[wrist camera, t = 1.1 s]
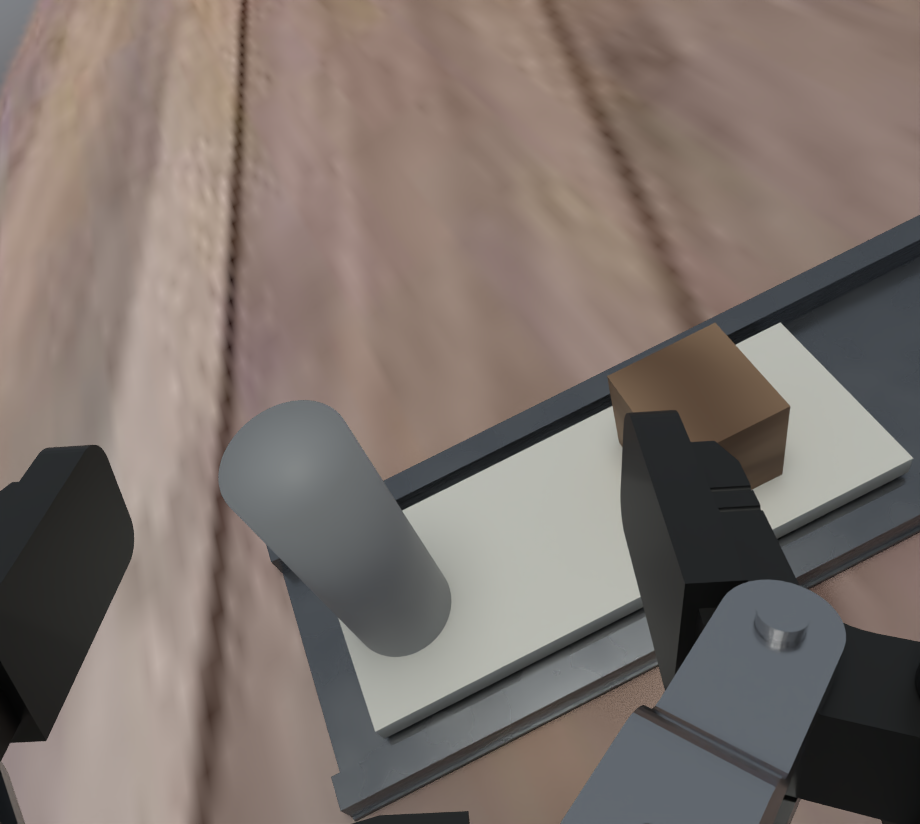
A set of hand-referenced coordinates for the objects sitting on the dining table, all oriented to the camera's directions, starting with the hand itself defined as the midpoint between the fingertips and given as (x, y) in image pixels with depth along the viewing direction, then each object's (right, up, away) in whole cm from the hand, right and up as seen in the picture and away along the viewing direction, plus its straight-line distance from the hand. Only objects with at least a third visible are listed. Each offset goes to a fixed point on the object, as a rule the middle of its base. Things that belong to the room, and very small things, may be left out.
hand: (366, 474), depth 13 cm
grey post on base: (+7, -4, +21) cm, 22 cm away
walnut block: (+11, -1, +20) cm, 22 cm away
